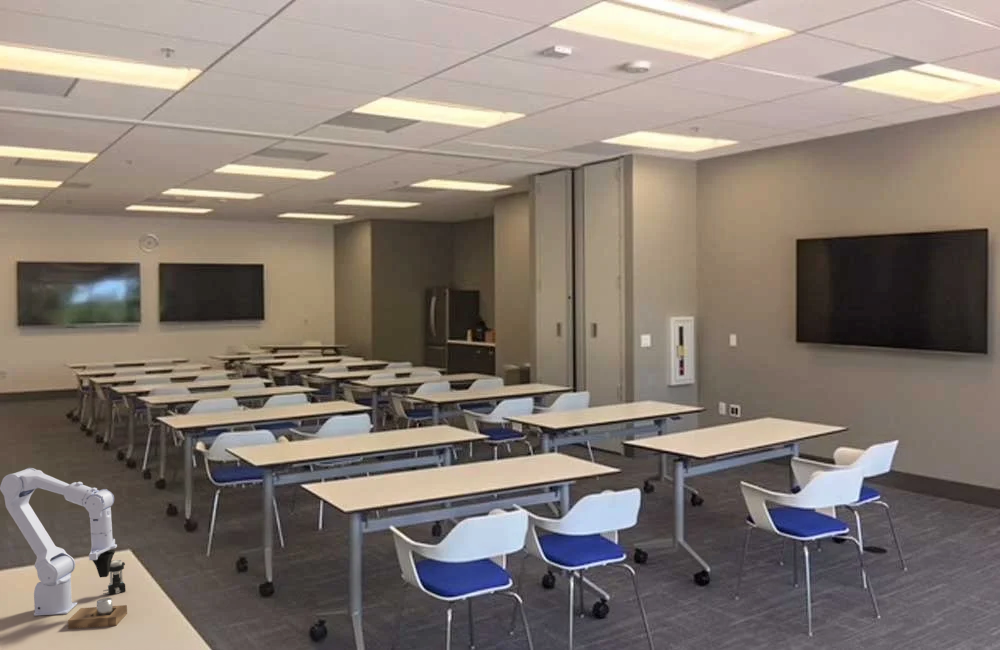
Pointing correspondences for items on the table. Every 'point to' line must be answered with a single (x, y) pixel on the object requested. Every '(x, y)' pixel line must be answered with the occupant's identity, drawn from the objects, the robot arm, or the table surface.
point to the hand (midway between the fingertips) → (104, 576)
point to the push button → (116, 578)
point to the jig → (96, 617)
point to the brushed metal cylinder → (104, 607)
